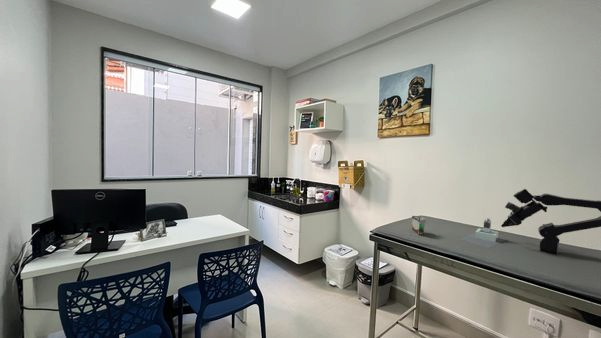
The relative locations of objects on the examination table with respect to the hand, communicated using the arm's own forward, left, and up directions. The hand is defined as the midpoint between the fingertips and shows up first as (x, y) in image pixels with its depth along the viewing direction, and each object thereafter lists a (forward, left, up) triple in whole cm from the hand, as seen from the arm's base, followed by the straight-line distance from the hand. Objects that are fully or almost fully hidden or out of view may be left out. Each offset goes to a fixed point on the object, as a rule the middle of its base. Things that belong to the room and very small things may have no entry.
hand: (502, 224), depth 147 cm
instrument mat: (+8, +7, -10) cm, 15 cm away
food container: (+35, +27, -11) cm, 46 cm away
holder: (+7, +1, -10) cm, 12 cm away
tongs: (+7, +2, -10) cm, 12 cm away
